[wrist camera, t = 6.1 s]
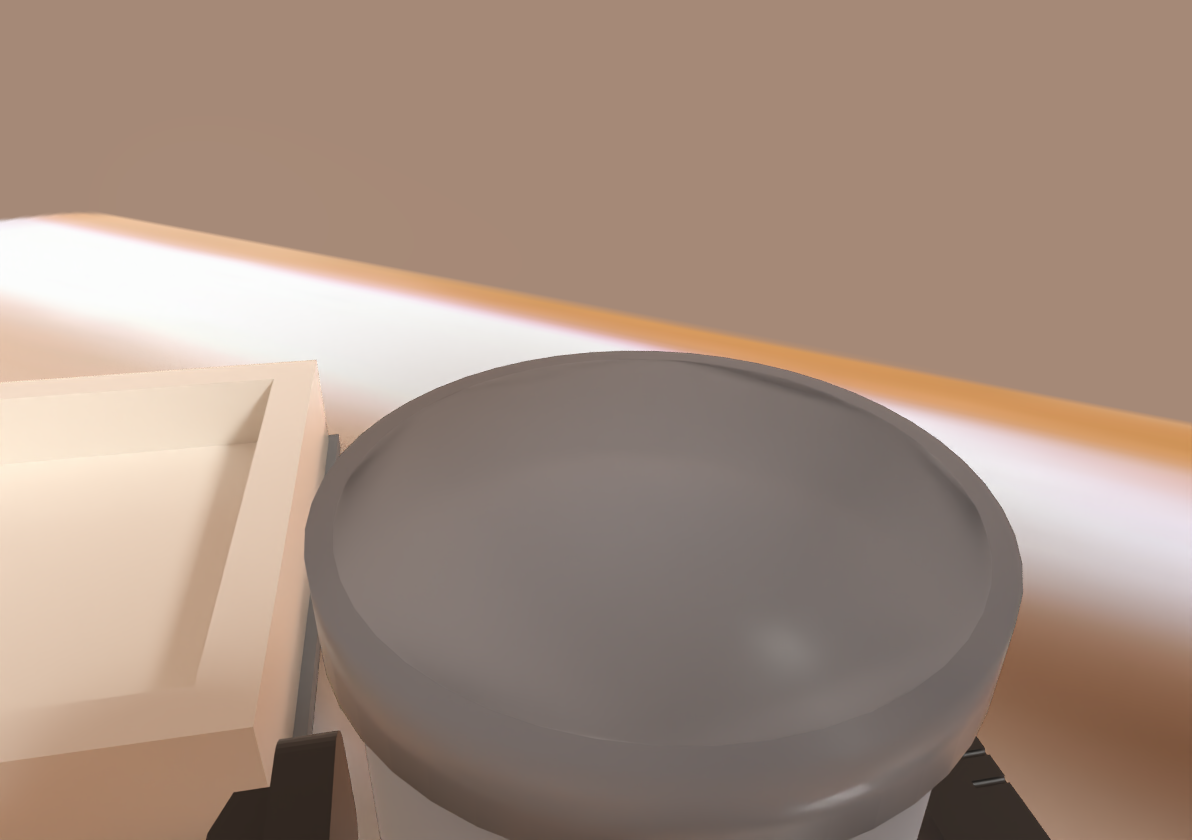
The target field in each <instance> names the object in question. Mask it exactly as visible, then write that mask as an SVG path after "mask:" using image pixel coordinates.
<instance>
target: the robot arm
mask: <svg viewBox="0 0 1192 840" xmlns="http://www.w3.org/2000/svg"><path fill="white" fill-rule="evenodd" d="M206 840H358V828H357V817H356V809H355V803H354V798H353V792H352V787H351V781H350V776H349V770H348V765H347V759H346V754H345V748H344V743H343V738H342V734H341V732H340V731H333V732H326V733H319V734H312V735H305V736H298V737H291V738H284V739H279V740H278V742H277V744H276V748H275V754H274V760H273V767H272V775H271V782H270V787H265V788H258V789H252V790H245V791H239V792H233V794H232V795H231V797H230V799H229V800H228V802H227V803H226V805H225V806H224V808H223V810H222V811H221V813H220V814H219V816H218V817H217V819H216V821H215V822H214V824H213V825H212V827H211V828H210V830H209V832H208V833H207V837H206ZM917 840H1051V839H1050V838H1049V837H1048V835H1047V834H1046V832H1045V831H1044V830H1043V828H1042V827H1041V825H1040V824H1039V823H1038V821H1037V820H1036V818H1035V817H1034V816H1033V814H1032V813H1031V812H1030V810H1029V809H1028V807H1027V806H1026V805H1025V803H1024V802H1023V800H1022V799H1021V798H1020V796H1019V795H1018V794H1017V792H1016V791H1015V789H1014V788H1013V787H1012V785H1011V784H1010V782H1009V783H1007V782H1006V781H1005V778H1004V774H1003V773H1002V771H1001V770H1000V769H999V767H998V766H997V764H996V763H995V762H994V760H993V759H992V757H991V756H990V755H986V753H985V748H984V746H983V745H982V744H981V742H980V741H979V739H978V738H977V737H975V739H974V741H973V743H972V745H971V746H970V747H969V748H968V750H967V751H966V752H965V754H964V755H963V756H962V758H961V759H960V760H959V761H958V763H957V764H956V765H955V767H954V768H953V769H952V770H951V772H950V773H949V774H948V775H947V776H946V777H945V778H944V779H943V780H942V781H941V782H939V783H938V784H937V785H936V786H935V787H934V788H933V789H932V790H931V793H930V797H929V800H928V803H927V807H926V810H925V814H924V817H923V821H922V824H921V827H920V831H919V834H918V838H917Z"/></svg>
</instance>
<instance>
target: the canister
mask: <svg viewBox="0 0 1192 840" xmlns="http://www.w3.org/2000/svg"><path fill="white" fill-rule="evenodd" d="M304 561H305V566H306V571H307V577H308V582H309V587H310V593H311V598H312V603H313V609H314V614H315V620H316V625H317V630H318V636H319V641H320V646H321V651H322V656H323V661H324V666H325V670H326V675H327V677H328V680H329V682H330V684H331V687H332V689H333V692H334V694H335V696H336V699H337V701H338V703H339V706H340V708H341V709H342V711H343V712H344V714H345V715H346V717H347V718H348V720H349V721H350V723H351V724H352V726H353V727H354V729H355V730H356V732H357V733H358V735H359V736H360V738H361V739H362V741H363V742H364V743H365V748H366V754H367V760H368V766H369V772H370V778H371V784H372V790H373V796H374V802H375V808H376V814H377V820H378V826H379V832H380V838H381V840H917V838H918V834H919V831H920V827H921V824H922V821H923V817H924V814H925V810H926V807H927V803H928V800H929V797H930V793H931V790H932V789H933V788H934V787H935V786H936V785H937V784H938V783H939V782H941V781H942V780H943V779H944V778H945V777H946V776H947V775H948V774H949V773H950V772H951V770H952V769H953V768H954V767H955V765H956V764H957V763H958V761H959V760H960V759H961V758H962V756H963V755H964V754H965V752H966V751H967V750H968V748H969V747H970V746H971V745H972V743H973V741H974V739H975V737H976V735H977V733H978V731H979V729H980V726H981V724H982V722H983V720H984V718H985V716H986V714H987V712H988V709H989V706H990V703H991V700H992V697H993V693H994V690H995V687H996V684H997V681H998V678H999V675H1000V671H1001V668H1002V665H1003V662H1004V659H1005V656H1006V653H1007V650H1008V646H1009V643H1010V640H1011V637H1012V634H1013V631H1014V628H1015V624H1016V620H1017V616H1018V612H1019V607H1020V603H1021V599H1022V594H1023V583H1022V561H1021V557H1020V553H1019V549H1018V545H1017V541H1016V537H1015V534H1014V532H1013V530H1012V528H1011V526H1010V523H1009V521H1008V519H1007V517H1006V515H1005V513H1004V511H1003V509H1002V507H1001V506H1000V504H999V503H998V501H997V500H996V499H995V497H994V496H993V494H992V493H991V491H990V490H989V489H988V487H987V486H986V484H985V483H984V482H983V481H982V480H981V479H980V478H979V477H978V476H977V475H976V473H975V472H974V471H973V470H972V469H971V468H970V467H969V466H968V465H967V464H966V463H965V462H964V461H963V460H962V459H961V458H960V457H958V456H957V455H956V454H955V453H954V452H953V451H951V450H950V449H949V448H948V447H947V446H945V445H944V444H943V443H942V442H941V441H939V440H938V439H936V438H935V437H934V436H932V435H931V434H929V433H928V432H926V431H925V430H923V429H922V428H920V427H919V426H917V425H916V424H914V423H913V422H911V421H909V420H908V419H906V418H904V417H902V416H900V415H899V414H897V413H895V412H893V411H891V410H890V409H888V408H886V407H884V406H882V405H880V404H878V403H876V402H873V401H871V400H869V399H867V398H865V397H862V396H860V395H858V394H856V393H854V392H851V391H848V390H846V389H843V388H840V387H838V386H835V385H832V384H830V383H827V382H824V381H822V380H818V379H815V378H812V377H808V376H805V375H802V374H798V373H795V372H792V371H788V370H784V369H780V368H775V367H771V366H767V365H763V364H758V363H753V362H748V361H742V360H736V359H731V358H725V357H717V356H709V355H700V354H692V353H678V352H662V351H611V352H590V353H580V354H571V355H561V356H554V357H548V358H542V359H536V360H530V361H524V362H520V363H516V364H511V365H507V366H503V367H498V368H494V369H491V370H488V371H484V372H481V373H478V374H474V375H471V376H468V377H465V378H462V379H459V380H457V381H454V382H452V383H449V384H446V385H444V386H441V387H439V388H436V389H434V390H432V391H430V392H428V393H426V394H424V395H422V396H420V397H418V398H416V399H414V400H411V401H409V402H408V403H406V404H404V405H403V406H401V407H399V408H398V409H396V410H395V411H393V412H391V413H390V414H388V415H386V416H385V417H383V418H382V419H381V420H379V421H378V422H377V423H375V424H374V425H373V426H371V427H370V428H369V429H368V430H366V431H365V432H364V433H362V434H361V435H360V436H359V437H358V438H357V439H356V440H355V441H354V442H353V443H352V444H351V445H350V446H349V447H348V448H347V449H346V450H345V451H344V452H343V453H342V454H341V455H340V456H339V458H338V459H337V460H336V462H335V463H334V464H333V466H332V467H331V469H330V470H329V471H328V473H327V474H326V475H325V477H324V478H323V480H322V482H321V484H320V486H319V488H318V490H317V493H316V495H315V497H314V499H313V501H312V503H311V507H310V511H309V515H308V519H307V523H306V526H305V540H304Z"/></svg>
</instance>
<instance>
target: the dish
mask: <svg viewBox="0 0 1192 840" xmlns="http://www.w3.org/2000/svg"><path fill="white" fill-rule="evenodd" d="M328 443H329V437H328V430H327V424H326V418H325V411H324V405H323V399H322V392H321V386H320V379H319V373H318V367H317V360H307V361H293V362H279V363H265V364H251V365H237V366H223V367H209V368H195V369H181V370H167V371H153V372H139V373H125V374H111V375H97V376H83V377H69V378H55V379H41V380H27V381H13V382H0V840H206V837H207V833H208V832H209V830H210V828H211V827H212V825H213V824H214V822H215V821H216V819H217V817H218V816H219V814H220V813H221V811H222V810H223V808H224V806H225V805H226V803H227V802H228V800H229V799H230V797H231V795H232V794H233V792H239V791H245V790H252V789H258V788H265V787H270V782H271V775H272V767H273V760H274V754H275V748H276V744H277V742H278V740H279V739H284V738H291V737H293V730H294V722H295V713H296V705H297V697H298V689H299V681H300V672H301V664H302V656H303V648H304V640H305V631H306V623H307V615H308V607H309V599H310V587H309V582H308V577H307V571H306V566H305V561H304V540H305V526H306V523H307V519H308V515H309V511H310V507H311V503H312V501H313V499H314V497H315V495H316V493H317V490H318V488H319V486H320V484H321V482H322V480H323V478H324V475H325V467H326V459H327V451H328Z"/></svg>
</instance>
